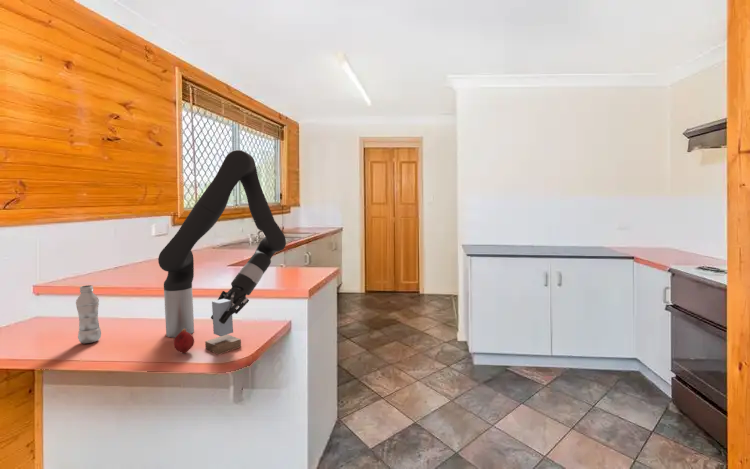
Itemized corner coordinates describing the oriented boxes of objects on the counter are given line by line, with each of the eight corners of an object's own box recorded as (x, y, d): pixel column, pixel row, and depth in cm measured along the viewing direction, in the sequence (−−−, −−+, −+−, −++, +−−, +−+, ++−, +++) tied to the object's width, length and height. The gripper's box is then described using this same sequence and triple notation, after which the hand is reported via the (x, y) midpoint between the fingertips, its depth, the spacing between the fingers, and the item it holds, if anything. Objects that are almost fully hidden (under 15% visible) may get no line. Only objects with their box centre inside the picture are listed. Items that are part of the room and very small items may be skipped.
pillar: (213, 333, 120) (211, 301, 119) (225, 329, 124) (224, 298, 123) (220, 336, 118) (219, 303, 117) (233, 332, 121) (231, 300, 120)
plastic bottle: (100, 337, 131) (96, 283, 130) (103, 342, 127) (99, 286, 125) (77, 342, 127) (73, 286, 125) (79, 347, 122) (75, 289, 121)
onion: (185, 357, 113) (184, 332, 113) (170, 356, 114) (168, 331, 114) (198, 350, 119) (197, 326, 118) (183, 349, 120) (182, 325, 119)
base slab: (205, 350, 120) (205, 341, 120) (227, 342, 127) (227, 334, 126) (218, 355, 115) (218, 346, 115) (241, 347, 122) (240, 339, 122)
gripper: (229, 270, 129) (197, 311, 121) (253, 274, 121) (220, 319, 112) (243, 282, 134) (213, 322, 125) (266, 287, 125) (237, 330, 117)
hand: (217, 320), depth 119 cm, fingers closed on pillar, 4 cm apart
